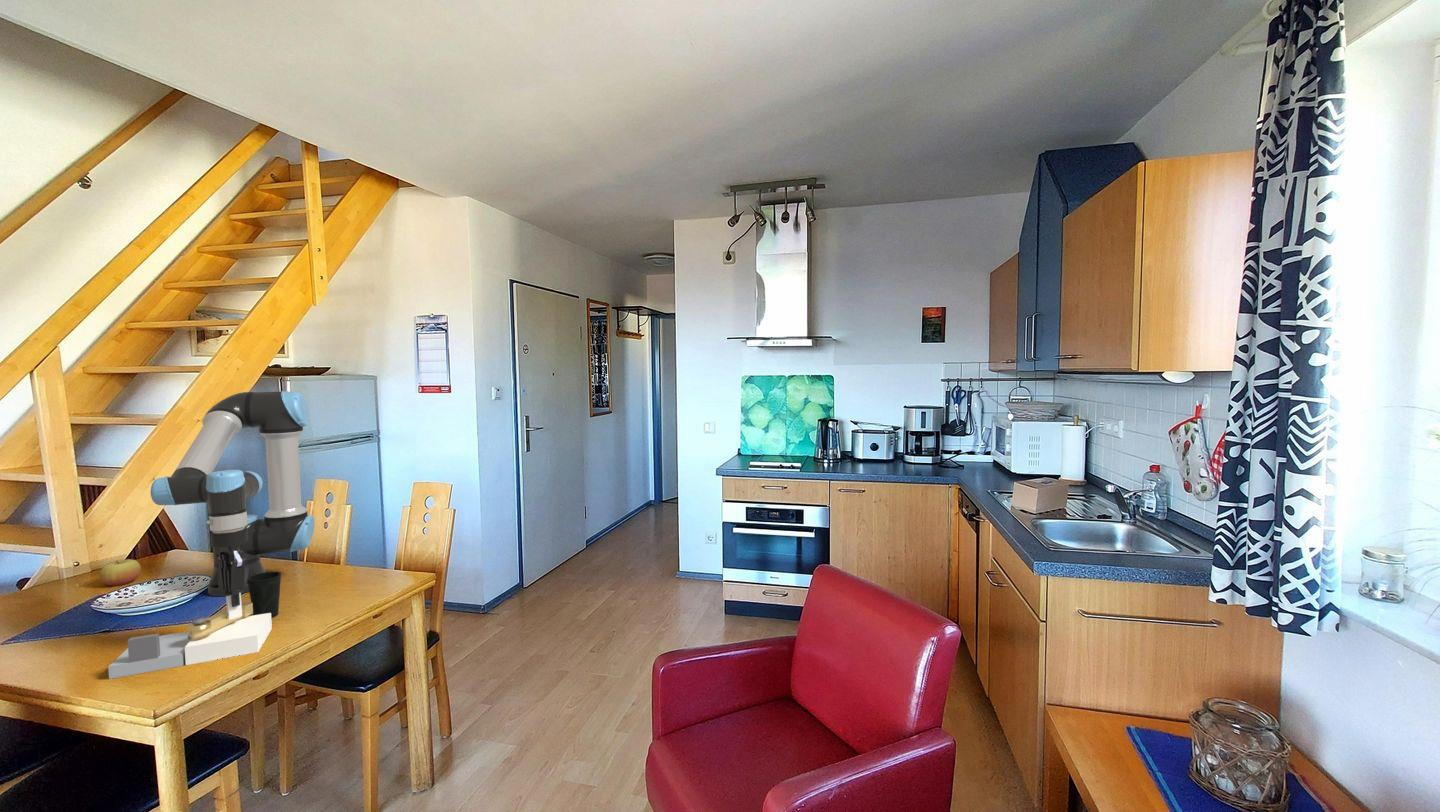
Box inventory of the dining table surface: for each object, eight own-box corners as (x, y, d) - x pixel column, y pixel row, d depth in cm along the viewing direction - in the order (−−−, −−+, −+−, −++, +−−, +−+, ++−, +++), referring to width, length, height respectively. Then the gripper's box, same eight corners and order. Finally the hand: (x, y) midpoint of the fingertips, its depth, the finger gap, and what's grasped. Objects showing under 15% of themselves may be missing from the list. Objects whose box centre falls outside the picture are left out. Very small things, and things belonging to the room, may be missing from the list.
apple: (97, 584, 190) (95, 561, 190) (138, 575, 198) (136, 553, 198) (103, 591, 185) (101, 566, 184) (145, 581, 193) (143, 558, 192)
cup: (264, 623, 162) (261, 581, 161) (242, 620, 163) (240, 579, 162) (289, 611, 169) (287, 572, 168) (268, 609, 171) (266, 570, 170)
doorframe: (137, 650, 146) (135, 616, 145) (271, 628, 158) (270, 596, 158) (109, 679, 132) (106, 641, 132) (258, 652, 145) (256, 617, 144)
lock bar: (182, 639, 141) (182, 627, 141) (238, 613, 157) (238, 602, 156) (199, 639, 141) (198, 628, 141) (253, 613, 156) (253, 602, 156)
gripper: (201, 529, 150) (208, 617, 151) (219, 536, 143) (225, 628, 144) (237, 523, 156) (243, 607, 157) (256, 529, 149) (261, 617, 150)
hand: (235, 617), depth 150 cm, fingers closed
